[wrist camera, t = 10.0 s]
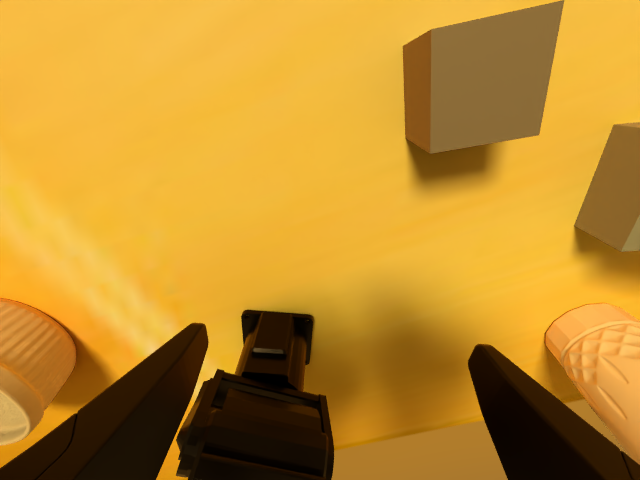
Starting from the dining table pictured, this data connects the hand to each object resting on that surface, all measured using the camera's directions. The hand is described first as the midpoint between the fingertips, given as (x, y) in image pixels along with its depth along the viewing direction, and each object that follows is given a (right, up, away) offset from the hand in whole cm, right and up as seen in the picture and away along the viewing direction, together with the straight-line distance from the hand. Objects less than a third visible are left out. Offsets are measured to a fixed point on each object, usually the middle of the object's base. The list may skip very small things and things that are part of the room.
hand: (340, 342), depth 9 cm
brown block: (+7, +13, +7) cm, 16 cm away
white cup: (+24, -5, +16) cm, 29 cm away
